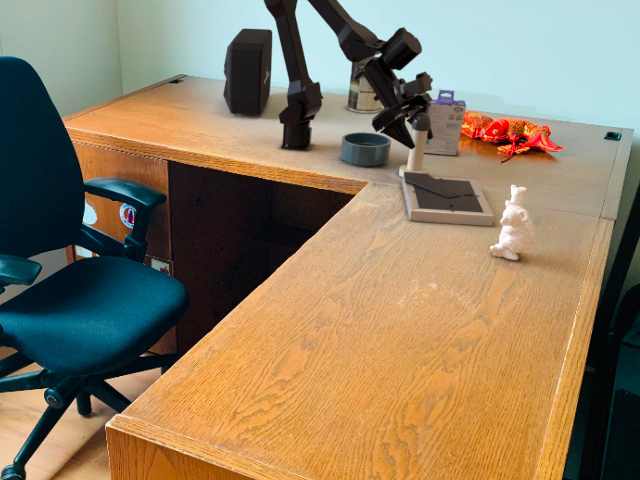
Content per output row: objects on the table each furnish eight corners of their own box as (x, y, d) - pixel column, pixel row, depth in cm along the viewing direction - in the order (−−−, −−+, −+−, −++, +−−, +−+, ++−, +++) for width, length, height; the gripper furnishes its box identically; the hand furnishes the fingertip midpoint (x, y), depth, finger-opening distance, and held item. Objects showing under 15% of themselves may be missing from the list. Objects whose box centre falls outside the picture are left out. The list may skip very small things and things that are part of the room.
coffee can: (340, 109, 201) (345, 59, 193) (356, 103, 208) (362, 54, 200) (371, 115, 196) (378, 64, 188) (386, 108, 203) (393, 59, 195)
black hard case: (260, 120, 189) (262, 44, 178) (217, 117, 190) (217, 42, 179) (270, 95, 214) (273, 27, 203) (233, 93, 215) (233, 25, 204)
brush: (398, 178, 151) (407, 115, 143) (399, 169, 156) (409, 108, 148) (426, 181, 150) (438, 118, 142) (427, 172, 155) (438, 110, 147)
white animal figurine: (482, 243, 123) (497, 181, 116) (520, 246, 122) (537, 183, 115) (491, 264, 116) (508, 198, 109) (531, 267, 115) (550, 201, 108)
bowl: (337, 165, 158) (339, 144, 155) (343, 150, 167) (345, 130, 165) (386, 170, 156) (389, 148, 153) (389, 155, 165) (392, 134, 162)
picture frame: (401, 183, 148) (409, 220, 131) (403, 171, 146) (412, 207, 129) (474, 188, 147) (491, 226, 129) (476, 175, 145) (495, 212, 128)
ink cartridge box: (455, 149, 170) (467, 90, 162) (457, 156, 165) (469, 95, 157) (416, 146, 171) (426, 87, 163) (416, 153, 167) (426, 93, 159)
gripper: (392, 66, 136) (433, 131, 136) (431, 54, 148) (468, 113, 148) (354, 100, 144) (393, 161, 144) (394, 85, 156) (429, 141, 157)
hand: (422, 143), depth 148 cm, fingers open, 9 cm apart
